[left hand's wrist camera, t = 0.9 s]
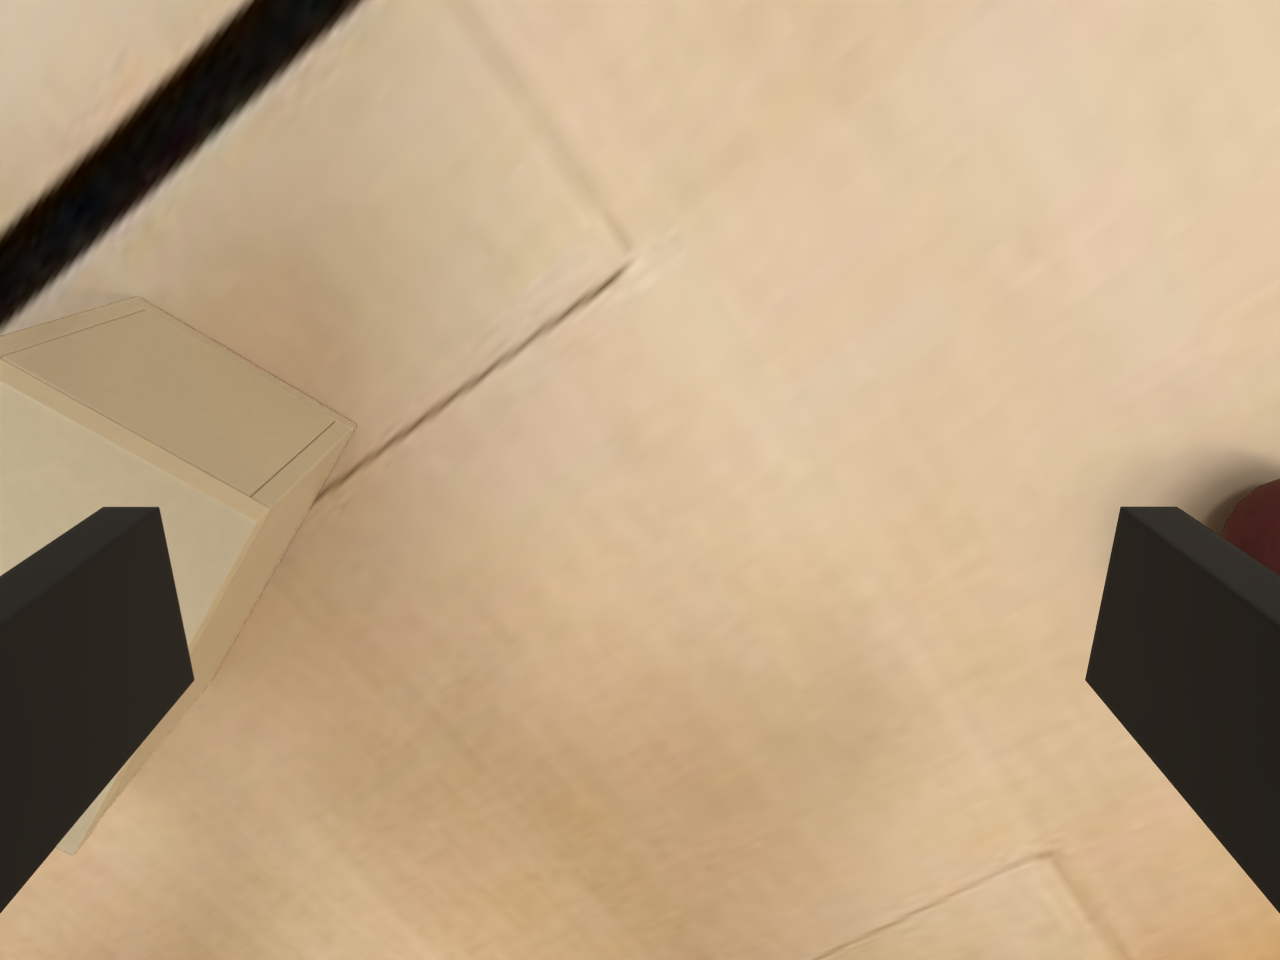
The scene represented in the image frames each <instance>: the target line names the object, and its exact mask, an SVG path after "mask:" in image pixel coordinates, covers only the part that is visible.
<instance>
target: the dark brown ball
mask: <svg viewBox="0 0 1280 960" xmlns="http://www.w3.org/2000/svg"><path fill="white" fill-rule="evenodd" d="M1221 537H1222V538H1224V539H1225V540H1227V541H1228V542H1230V543H1231V544H1233V545H1234V546H1236V547H1237V548H1239V549H1240V550H1242V551H1243V552H1245V553H1246V554H1248V555H1249V556H1251V557H1252V558H1254V559H1255V560H1257V561H1258V562H1260V563H1261V564H1263V565H1264V566H1266V567H1267V568H1268V569H1270V570H1271V571H1273V572H1274V573H1276V574H1277V575H1279V576H1280V479H1278V480H1275V481H1272V482H1269V483H1267V484H1264V485H1261V486H1259V487H1258V488H1257V489H1255V490H1254V491H1253V492H1252V493H1250V494H1249V495H1248V496H1246V497H1245V498H1244V499H1243V500H1241V501H1240V503H1239V504H1238V505H1237V507H1236V508H1235V510H1234V511H1233V512H1232V514H1231V515H1230V517H1229V518H1228V520H1227V521H1226V524H1225V527H1224V530H1223V533H1222V536H1221Z"/></svg>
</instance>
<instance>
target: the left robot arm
mask: <svg viewBox="0 0 1280 960" xmlns="http://www.w3.org/2000/svg"><path fill="white" fill-rule="evenodd" d="M194 680H195V679H194V674H193V669H192V664H191V660H190V655H189V650H188V645H187V640H186V635H185V630H184V625H183V620H182V615H181V611H180V606H179V601H178V596H177V591H176V586H175V581H174V576H173V571H172V567H171V562H170V557H169V552H168V547H167V542H166V537H165V532H164V527H163V523H162V518H161V513H160V508H159V507H102V508H101V509H99V510H98V511H96V512H95V513H93V514H92V515H90V516H89V517H87V518H86V519H84V520H83V521H81V522H80V523H78V524H77V525H75V526H74V527H72V528H71V529H69V530H68V531H67V532H65V533H64V534H62V535H61V536H59V537H58V538H56V539H55V540H53V541H52V542H50V543H49V544H47V545H46V546H44V547H43V548H41V549H40V550H38V551H37V552H35V553H34V554H32V555H31V556H29V557H28V558H26V559H25V560H23V561H22V562H20V563H19V564H17V565H16V566H14V567H13V568H12V569H10V570H9V571H7V572H6V573H4V574H3V575H1V576H0V913H1V912H2V911H3V909H4V908H5V907H6V906H7V905H8V903H9V902H10V901H11V900H12V899H13V897H14V896H15V895H16V894H17V893H18V891H19V890H20V889H21V888H22V887H23V885H24V884H25V883H26V882H27V881H28V879H29V878H30V877H31V876H32V875H33V873H34V872H35V871H36V870H37V869H38V867H39V866H40V865H41V864H42V863H43V861H44V860H45V859H46V858H47V857H48V855H49V854H50V853H51V852H52V851H53V849H54V848H55V847H56V846H57V845H58V843H59V842H60V841H61V840H62V839H63V837H64V836H65V835H66V834H67V833H68V831H69V830H70V829H71V828H72V827H73V825H74V824H75V823H76V822H77V821H78V819H79V818H80V817H81V816H82V815H83V813H84V812H85V811H86V810H87V809H88V807H89V806H90V805H91V804H92V803H93V801H94V800H95V799H96V798H97V797H98V795H99V794H100V793H101V792H102V791H103V789H104V788H105V787H106V786H107V785H108V783H109V782H110V781H111V780H112V779H113V777H114V776H115V775H116V774H117V773H118V771H119V770H120V769H121V768H122V767H123V765H124V764H125V763H126V762H127V761H128V759H129V758H130V757H131V756H132V755H133V753H134V752H135V751H136V750H137V749H138V747H139V746H140V745H141V744H142V743H143V741H144V740H145V739H146V738H147V737H148V735H149V734H150V733H151V732H152V731H153V729H154V728H155V727H156V726H157V725H158V723H159V722H160V721H161V720H162V719H163V717H164V716H165V715H166V714H167V713H168V711H169V710H170V709H171V708H172V707H173V705H174V704H175V703H176V702H177V701H178V699H179V698H180V697H181V696H182V695H183V693H184V692H185V691H186V690H187V689H188V687H189V686H190V685H191V684H192V683H193V681H194ZM1085 680H1086V681H1087V683H1088V684H1089V685H1090V686H1091V687H1092V689H1093V690H1094V691H1095V692H1096V693H1097V695H1098V696H1099V697H1100V698H1101V699H1102V701H1103V702H1104V703H1105V704H1106V705H1107V707H1108V708H1109V709H1110V710H1111V711H1112V713H1113V714H1114V715H1115V716H1116V717H1117V719H1118V720H1119V721H1120V722H1121V723H1122V725H1123V726H1124V727H1125V728H1126V729H1127V731H1128V732H1129V733H1130V734H1131V735H1132V737H1133V738H1134V739H1135V740H1136V741H1137V743H1138V744H1139V745H1140V746H1141V747H1142V749H1143V750H1144V751H1145V752H1146V753H1147V755H1148V756H1149V757H1150V758H1151V759H1152V761H1153V762H1154V763H1155V764H1156V765H1157V767H1158V768H1159V769H1160V770H1161V771H1162V773H1163V774H1164V775H1165V776H1166V777H1167V779H1168V780H1169V781H1170V782H1171V783H1172V785H1173V786H1174V787H1175V788H1176V789H1177V791H1178V792H1179V793H1180V794H1181V795H1182V797H1183V798H1184V799H1185V800H1186V801H1187V803H1188V804H1189V805H1190V806H1191V807H1192V809H1193V810H1194V811H1195V812H1196V813H1197V815H1198V816H1199V817H1200V818H1201V819H1202V821H1203V822H1204V823H1205V824H1206V825H1207V827H1208V828H1209V829H1210V830H1211V831H1212V833H1213V834H1214V835H1215V836H1216V837H1217V839H1218V840H1219V841H1220V842H1221V843H1222V845H1223V846H1224V847H1225V848H1226V849H1227V851H1228V852H1229V853H1230V854H1231V855H1232V857H1233V858H1234V859H1235V860H1236V861H1237V863H1238V864H1239V865H1240V866H1241V867H1242V869H1243V870H1244V871H1245V872H1246V873H1247V875H1248V876H1249V877H1250V878H1251V879H1252V881H1253V882H1254V883H1255V884H1256V885H1257V887H1258V888H1259V889H1260V890H1261V891H1262V893H1263V894H1264V895H1265V896H1266V897H1267V899H1268V900H1269V901H1270V902H1271V903H1272V905H1273V906H1274V907H1275V908H1276V909H1277V911H1278V912H1279V913H1280V576H1279V575H1277V574H1276V573H1274V572H1273V571H1271V570H1270V569H1268V568H1267V567H1266V566H1264V565H1263V564H1261V563H1260V562H1258V561H1257V560H1255V559H1254V558H1252V557H1251V556H1249V555H1248V554H1246V553H1245V552H1243V551H1242V550H1240V549H1239V548H1237V547H1236V546H1234V545H1233V544H1231V543H1230V542H1228V541H1227V540H1225V539H1224V538H1222V537H1221V536H1219V535H1218V534H1216V533H1215V532H1213V531H1212V530H1210V529H1209V528H1208V527H1206V526H1205V525H1203V524H1202V523H1200V522H1199V521H1197V520H1196V519H1194V518H1193V517H1191V516H1190V515H1188V514H1187V513H1185V512H1184V511H1182V510H1181V509H1179V508H1178V507H1121V508H1120V513H1119V518H1118V523H1117V527H1116V532H1115V537H1114V542H1113V547H1112V552H1111V557H1110V562H1109V567H1108V571H1107V576H1106V581H1105V586H1104V591H1103V596H1102V601H1101V606H1100V611H1099V615H1098V620H1097V625H1096V630H1095V635H1094V640H1093V645H1092V650H1091V655H1090V660H1089V664H1088V669H1087V674H1086V679H1085Z"/></svg>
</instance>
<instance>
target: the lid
mask: <svg viewBox="0 0 1280 960" xmlns="http://www.w3.org/2000/svg"><path fill="white" fill-rule="evenodd" d="M102 507H159V508H160V513H161V518H162V523H163V527H164V532H165V537H166V542H167V547H168V552H169V557H170V562H171V567H172V571H173V576H174V581H175V586H176V591H177V596H178V601H179V606H180V611H181V615H182V620H183V625H184V630H185V635H186V640H187V645H188V650H189V655H191V653H192V651H193V649H194V647H195V645H196V644H197V642H198V640H199V638H200V636H201V635H202V633H203V631H204V629H205V627H206V626H207V624H208V622H209V620H210V618H211V617H212V615H213V613H214V611H215V609H216V607H217V606H218V604H219V602H220V600H221V598H222V597H223V595H224V593H225V591H226V589H227V588H228V586H229V584H230V582H231V580H232V578H233V577H234V575H235V573H236V571H237V569H238V568H239V566H240V564H241V562H242V560H243V559H244V557H245V555H246V553H247V551H248V550H249V548H250V546H251V544H252V542H253V540H254V539H255V537H256V535H257V533H258V531H259V530H260V528H261V526H262V524H263V522H264V521H265V519H266V517H267V515H268V513H269V511H270V509H269V508H268V507H267V506H265V505H263V504H261V503H259V502H258V501H256V500H254V499H252V498H250V497H249V496H247V495H245V494H243V493H241V492H240V491H238V490H236V489H234V488H232V487H231V486H229V485H227V484H225V483H223V482H222V481H220V480H218V479H216V478H214V477H213V476H211V475H209V474H207V473H205V472H204V471H202V470H200V469H198V468H196V467H195V466H193V465H191V464H189V463H187V462H186V461H184V460H182V459H180V458H178V457H177V456H175V455H173V454H171V453H169V452H168V451H166V450H164V449H162V448H160V447H159V446H157V445H155V444H153V443H151V442H150V441H148V440H146V439H144V438H142V437H141V436H139V435H137V434H135V433H133V432H131V431H130V430H128V429H126V428H124V427H122V426H121V425H119V424H117V423H115V422H113V421H112V420H110V419H108V418H106V417H104V416H103V415H101V414H99V413H97V412H95V411H94V410H92V409H90V408H88V407H86V406H85V405H83V404H81V403H79V402H77V401H76V400H74V399H72V398H70V397H68V396H67V395H65V394H63V393H61V392H59V391H58V390H56V389H54V388H52V387H50V386H49V385H47V384H45V383H43V382H41V381H40V380H38V379H36V378H34V377H32V376H31V375H29V374H27V373H25V372H23V371H22V370H20V369H18V368H16V367H14V366H13V365H11V364H9V363H7V362H5V361H4V360H2V359H0V576H1V575H3V574H4V573H6V572H7V571H9V570H10V569H12V568H13V567H14V566H16V565H17V564H19V563H20V562H22V561H23V560H25V559H26V558H28V557H29V556H31V555H32V554H34V553H35V552H37V551H38V550H40V549H41V548H43V547H44V546H46V545H47V544H49V543H50V542H52V541H53V540H55V539H56V538H58V537H59V536H61V535H62V534H64V533H65V532H67V531H68V530H69V529H71V528H72V527H74V526H75V525H77V524H78V523H80V522H81V521H83V520H84V519H86V518H87V517H89V516H90V515H92V514H93V513H95V512H96V511H98V510H99V509H101V508H102ZM139 747H140V746H139ZM139 747H138V749H139ZM138 749H137V750H138ZM137 750H136V751H135V752H134V753H133V755H132V756H131V757H130V758H129V759H128V761H127V762H126V763H125V764H124V765H123V767H122V768H121V769H120V770H119V771H118V773H117V774H116V775H115V776H114V777H113V779H112V780H111V781H110V782H109V783H108V785H107V786H106V787H105V788H104V789H103V791H102V792H101V793H100V794H99V795H98V797H97V798H96V799H95V800H94V801H93V803H92V804H91V805H90V806H89V807H88V809H87V810H86V811H85V812H84V813H83V815H82V816H81V817H80V818H79V819H78V821H77V822H76V823H75V824H74V825H73V827H72V828H71V829H70V830H69V831H68V833H67V834H66V835H65V836H64V837H63V839H62V840H61V841H60V842H59V843H58V845H57V846H56V847H55V848H57V849H59V850H61V851H64V852H66V853H68V854H70V855H74V854H76V852H77V851H78V850H79V849H80V847H81V846H82V845H83V844H84V842H85V841H86V840H87V839H88V837H89V836H90V835H91V834H92V832H93V830H94V828H95V827H96V825H97V823H98V821H99V819H100V817H101V816H102V814H103V812H104V810H105V808H106V807H107V805H108V803H109V801H110V799H111V798H112V796H113V794H114V792H115V790H116V789H117V787H118V785H119V783H120V781H121V779H122V778H123V776H124V774H125V772H126V770H127V769H128V767H129V765H130V763H131V761H132V760H133V758H134V756H135V754H136V752H137Z"/></svg>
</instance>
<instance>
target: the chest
mask: <svg viewBox="0 0 1280 960" xmlns="http://www.w3.org/2000/svg"><path fill="white" fill-rule="evenodd" d="M0 359H2V360H4V361H5V362H7V363H9V364H11V365H13V366H14V367H16V368H18V369H20V370H22V371H23V372H25V373H27V374H29V375H31V376H32V377H34V378H36V379H38V380H40V381H41V382H43V383H45V384H47V385H49V386H50V387H52V388H54V389H56V390H58V391H59V392H61V393H63V394H65V395H67V396H68V397H70V398H72V399H74V400H76V401H77V402H79V403H81V404H83V405H85V406H86V407H88V408H90V409H92V410H94V411H95V412H97V413H99V414H101V415H103V416H104V417H106V418H108V419H110V420H112V421H113V422H115V423H117V424H119V425H121V426H122V427H124V428H126V429H128V430H130V431H131V432H133V433H135V434H137V435H139V436H141V437H142V438H144V439H146V440H148V441H150V442H151V443H153V444H155V445H157V446H159V447H160V448H162V449H164V450H166V451H168V452H169V453H171V454H173V455H175V456H177V457H178V458H180V459H182V460H184V461H186V462H187V463H189V464H191V465H193V466H195V467H196V468H198V469H200V470H202V471H204V472H205V473H207V474H209V475H211V476H213V477H214V478H216V479H218V480H220V481H222V482H223V483H225V484H227V485H229V486H231V487H232V488H234V489H236V490H238V491H240V492H241V493H243V494H245V495H247V496H249V497H250V498H252V499H254V500H256V501H258V502H259V503H261V504H263V505H265V506H267V507H268V508H269V509H270V511H269V513H268V515H267V517H266V519H265V521H264V522H263V524H262V526H261V528H260V530H259V531H258V533H257V535H256V537H255V539H254V540H253V542H252V544H251V546H250V548H249V550H248V551H247V553H246V555H245V557H244V559H243V560H242V562H241V564H240V566H239V568H238V569H237V571H236V573H235V575H234V577H233V578H232V580H231V582H230V584H229V586H228V588H227V589H226V591H225V593H224V595H223V597H222V598H221V600H220V602H219V604H218V606H217V607H216V609H215V611H214V613H213V615H212V617H211V618H210V620H209V622H208V624H207V626H206V627H205V629H204V631H203V633H202V635H201V636H200V638H199V640H198V642H197V644H196V645H195V647H194V649H193V651H192V653H191V655H190V660H191V664H192V669H193V674H194V679H195V680H194V681H193V683H192V684H191V685H190V686H189V687H188V689H187V690H186V691H185V692H184V693H183V695H182V696H181V697H180V698H179V699H178V701H177V702H176V703H175V704H174V705H173V707H172V708H171V709H170V710H169V711H168V713H167V714H166V715H165V716H164V717H163V719H162V720H161V721H160V722H159V723H158V725H157V726H156V727H155V728H154V729H153V731H152V732H151V733H150V734H149V735H148V737H147V738H146V739H145V740H144V741H143V743H142V744H141V745H140V747H139V749H138V750H137V752H136V754H135V756H134V758H133V760H132V761H131V763H130V765H129V767H128V769H127V770H126V772H125V774H124V776H123V778H122V779H121V781H120V783H119V785H118V787H117V789H116V790H115V792H114V794H113V796H112V798H111V799H110V801H109V803H108V805H107V807H106V808H105V810H104V812H103V814H102V816H103V815H104V814H105V813H106V811H107V810H108V809H109V808H110V806H111V805H112V804H113V803H114V801H115V800H116V799H117V798H118V796H119V795H120V794H121V793H122V791H123V790H124V789H125V788H126V786H127V785H128V784H129V783H130V782H131V780H132V779H133V778H134V777H135V775H136V774H137V773H138V772H139V770H140V769H141V768H142V767H143V765H144V764H145V763H146V762H147V760H148V759H149V758H150V757H151V755H152V754H153V753H154V752H155V751H156V749H157V748H158V747H159V746H160V744H161V743H162V742H163V741H164V739H165V738H166V737H167V736H168V734H169V733H170V732H171V731H172V729H173V728H174V727H175V726H176V724H177V723H178V722H179V721H180V720H181V718H182V717H183V716H184V715H185V713H186V712H187V711H188V710H189V708H190V707H191V706H192V705H193V703H194V702H195V701H196V700H197V698H198V697H199V696H200V695H201V694H202V692H203V691H204V690H205V689H206V687H207V686H208V685H209V684H210V682H211V681H212V680H213V678H214V676H215V674H216V672H217V671H218V669H219V667H220V665H221V664H222V662H223V660H224V658H225V657H226V655H227V653H228V651H229V650H230V648H231V646H232V644H233V643H234V641H235V639H236V637H237V636H238V634H239V632H240V630H241V629H242V627H243V625H244V623H245V621H246V620H247V618H248V616H249V614H250V613H251V611H252V609H253V607H254V606H255V604H256V602H257V600H258V599H259V597H260V595H261V593H262V592H263V590H264V588H265V586H266V585H267V583H268V581H269V579H270V578H271V576H272V574H273V572H274V570H275V569H276V567H277V565H278V563H279V562H280V560H281V558H282V556H283V555H284V553H285V551H286V549H287V548H288V546H289V544H290V542H291V541H292V539H293V537H294V535H295V534H296V532H297V530H298V528H299V527H300V525H301V523H302V521H303V519H304V518H305V516H306V514H307V512H308V511H309V509H310V507H311V505H312V504H313V502H314V500H315V498H316V497H317V495H318V493H319V491H320V490H321V488H322V486H323V484H324V483H325V481H326V479H327V477H328V476H329V474H330V472H331V470H332V468H333V467H334V465H335V463H336V461H337V460H338V458H339V456H340V454H341V453H342V451H343V449H344V447H345V446H346V444H347V442H348V440H349V439H350V437H351V435H352V433H353V432H354V430H355V428H356V426H357V425H356V424H355V423H353V422H351V421H349V420H348V419H346V418H344V417H343V416H341V415H339V414H338V413H336V412H334V411H332V410H331V409H329V408H327V407H326V406H324V405H322V404H320V403H319V402H317V401H315V400H314V399H312V398H310V397H309V396H307V395H305V394H303V393H302V392H300V391H298V390H297V389H295V388H293V387H291V386H290V385H288V384H286V383H285V382H283V381H281V380H280V379H278V378H276V377H274V376H273V375H271V374H269V373H268V372H266V371H264V370H263V369H261V368H259V367H257V366H256V365H254V364H252V363H251V362H249V361H247V360H245V359H244V358H242V357H240V356H239V355H237V354H235V353H234V352H232V351H230V350H228V349H227V348H225V347H223V346H222V345H220V344H218V343H216V342H215V341H213V340H211V339H210V338H208V337H206V336H205V335H203V334H201V333H199V332H198V331H196V330H194V329H193V328H191V327H189V326H187V325H186V324H184V323H182V322H181V321H179V320H177V319H176V318H174V317H172V316H170V315H169V314H167V313H165V312H164V311H162V310H160V309H159V308H157V307H155V306H153V305H152V304H150V303H148V302H147V301H145V300H143V299H141V298H140V297H133V298H130V299H126V300H123V301H119V302H116V303H112V304H109V305H106V306H102V307H99V308H95V309H92V310H89V311H85V312H82V313H78V314H75V315H71V316H68V317H65V318H61V319H58V320H54V321H51V322H47V323H44V324H41V325H37V326H34V327H30V328H27V329H24V330H20V331H17V332H13V333H10V334H6V335H3V336H0ZM102 816H101V817H102ZM101 817H100V818H101Z"/></svg>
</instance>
